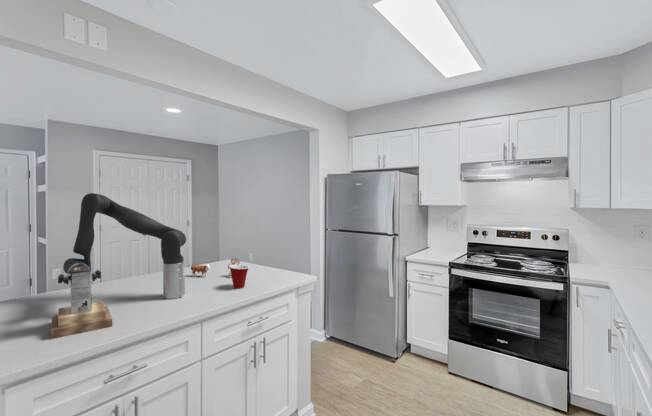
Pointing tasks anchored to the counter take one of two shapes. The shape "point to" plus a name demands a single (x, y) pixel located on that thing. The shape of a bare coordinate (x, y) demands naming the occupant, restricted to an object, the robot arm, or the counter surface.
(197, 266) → the bull figurine
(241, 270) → the plastic cup
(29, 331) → the counter surface
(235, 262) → the tan wooden handled piece
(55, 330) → the plinth
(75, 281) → the coffee box
